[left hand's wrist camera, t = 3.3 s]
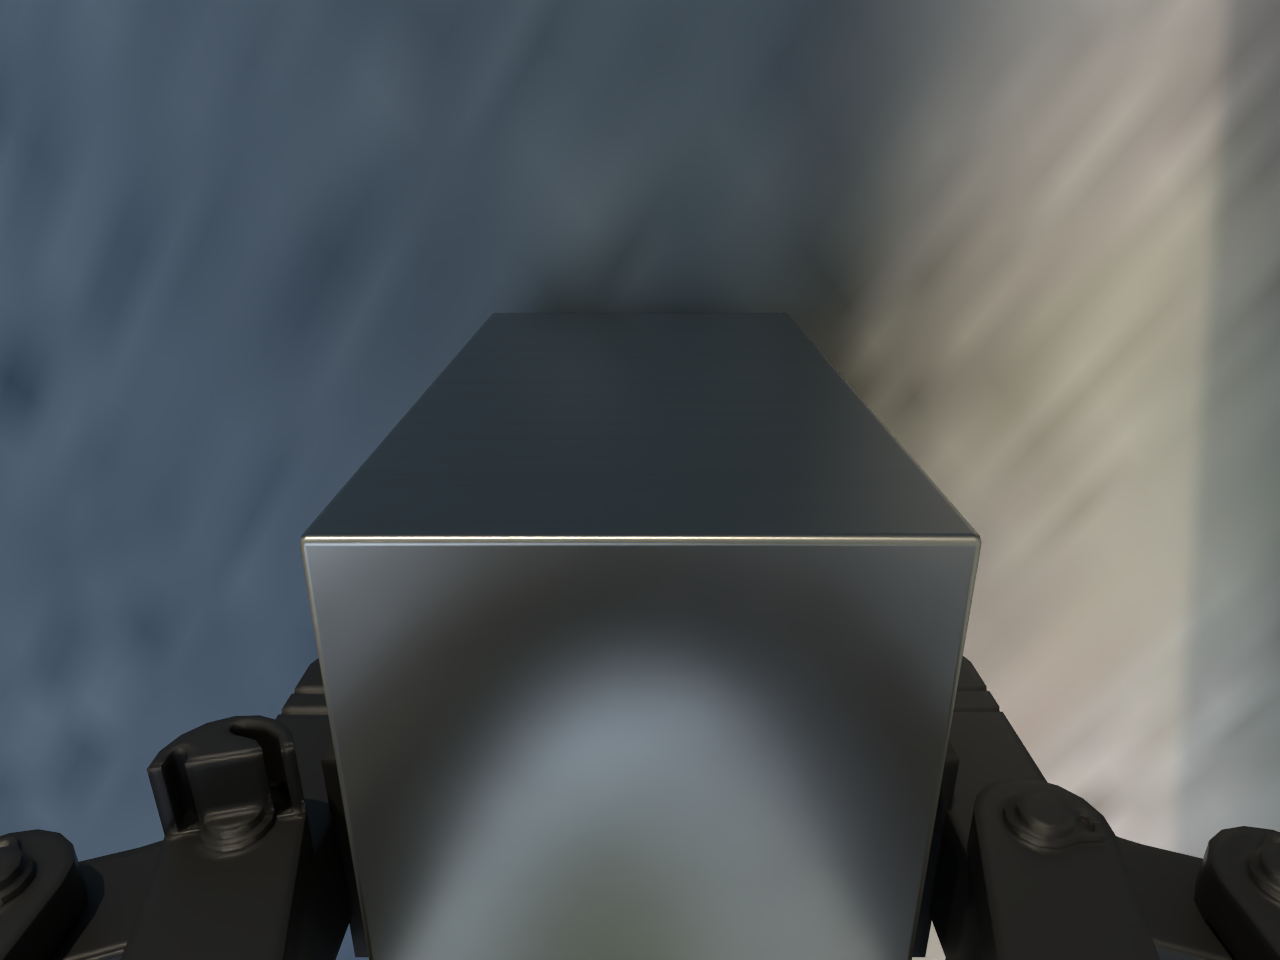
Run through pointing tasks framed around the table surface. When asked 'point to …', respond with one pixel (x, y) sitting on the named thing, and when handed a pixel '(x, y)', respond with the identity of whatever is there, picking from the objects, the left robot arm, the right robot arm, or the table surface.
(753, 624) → the bar
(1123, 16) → the table surface
